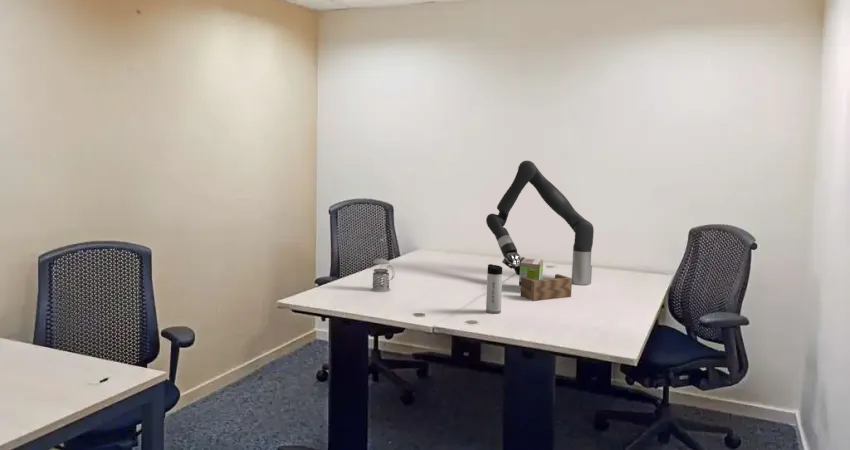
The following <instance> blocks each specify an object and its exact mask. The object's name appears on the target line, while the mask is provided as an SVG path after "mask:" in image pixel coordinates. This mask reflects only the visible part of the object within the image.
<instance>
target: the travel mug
mask: <svg viewBox="0 0 850 450" xmlns="http://www.w3.org/2000/svg"><path fill="white" fill-rule="evenodd" d="M486 274H487V275H486V276H487V277H486V301H485V308H486V309H485V312H486V313H488V314H491V315H496V314H500V313H501V312H502V297H503V296H502V293H503V266H501V265H497V264H492V263H489V264H487V273H486Z"/></svg>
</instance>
